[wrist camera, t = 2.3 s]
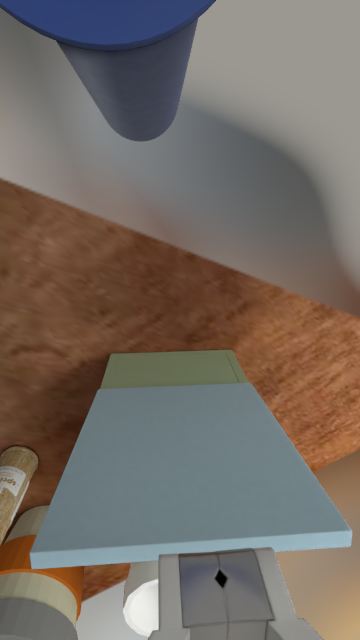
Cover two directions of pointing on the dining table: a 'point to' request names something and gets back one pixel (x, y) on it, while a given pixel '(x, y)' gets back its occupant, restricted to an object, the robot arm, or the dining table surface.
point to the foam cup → (142, 597)
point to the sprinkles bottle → (14, 482)
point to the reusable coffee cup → (36, 588)
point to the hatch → (183, 481)
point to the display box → (172, 369)
